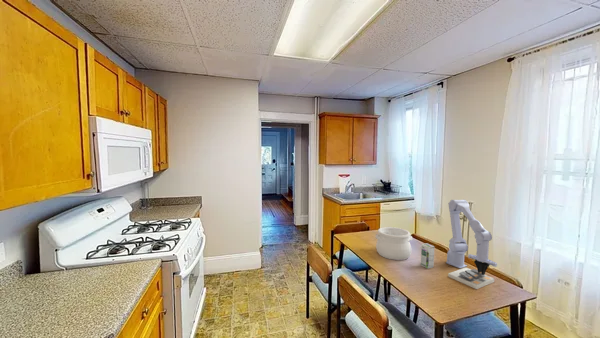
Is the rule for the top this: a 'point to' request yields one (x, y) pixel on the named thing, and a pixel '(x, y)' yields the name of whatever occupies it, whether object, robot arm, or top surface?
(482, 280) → the switch panel
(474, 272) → the rocker
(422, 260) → the syrup box
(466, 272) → the rocker
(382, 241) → the pot
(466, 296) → the top surface
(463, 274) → the rocker
